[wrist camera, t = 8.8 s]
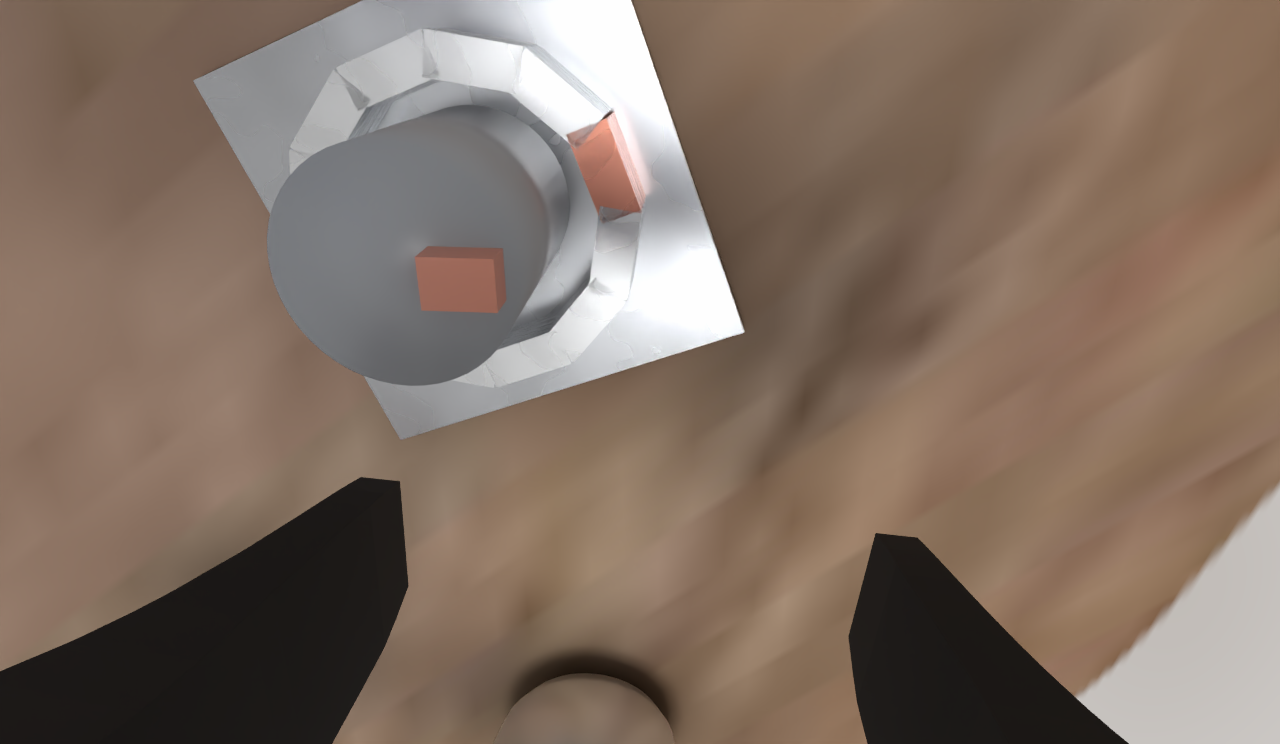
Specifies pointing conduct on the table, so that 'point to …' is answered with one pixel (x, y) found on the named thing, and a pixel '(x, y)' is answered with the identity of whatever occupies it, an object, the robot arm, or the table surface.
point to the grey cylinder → (418, 242)
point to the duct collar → (569, 124)
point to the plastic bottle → (585, 714)
